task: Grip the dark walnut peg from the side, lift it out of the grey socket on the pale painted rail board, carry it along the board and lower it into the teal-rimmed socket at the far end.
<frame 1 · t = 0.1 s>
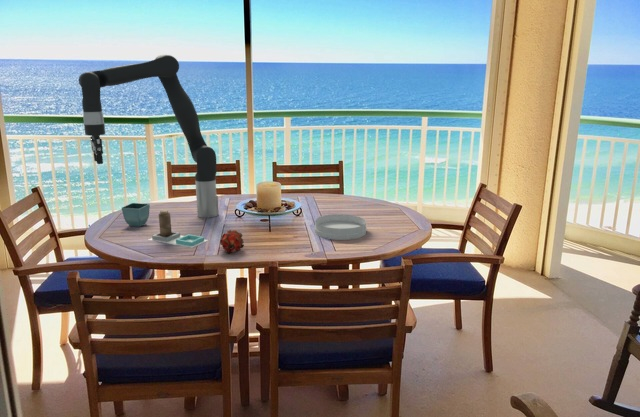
hand: (98, 162, 203), 29 cm above the table, tool pointing down, fingers open, 8 cm apart
dragon fruit: (232, 251, 185), on the table
dish: (340, 232, 210), on the table
peg: (166, 237, 196), point 1 cm above the table, touching rail board
rail board: (178, 242, 194), on the table
flower pot: (137, 225, 217), on the table
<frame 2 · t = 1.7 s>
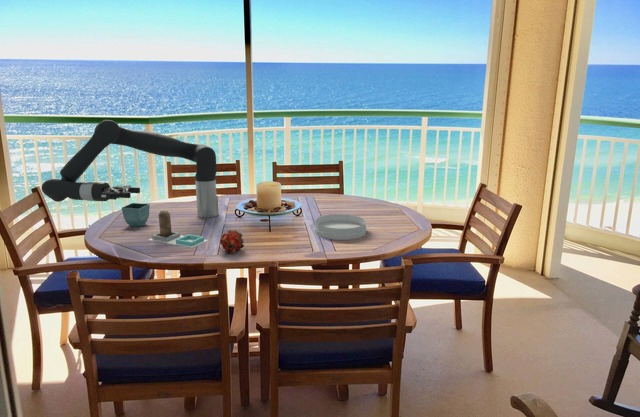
hand: (135, 192, 192), 20 cm above the table, tool horizontal, fingers open, 8 cm apart
nothing on the table moved.
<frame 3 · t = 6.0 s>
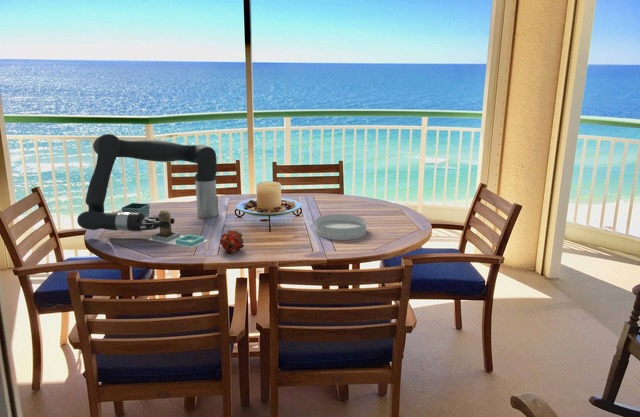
hand: (171, 222, 195), 8 cm above the table, tool horizontal, fingers closed on peg, 4 cm apart
peg: (166, 237, 196), point 1 cm above the table, touching gripper, rail board
everything else where it was.
when the fingers open (8 cm above the table, at t = 10.3 s): peg stays where it is, resting on rail board.
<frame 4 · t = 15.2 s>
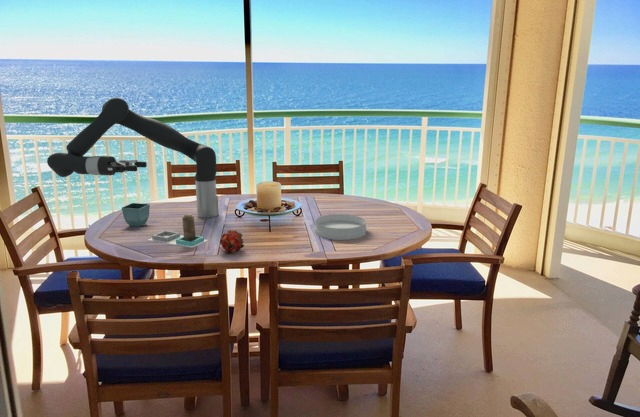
hand: (141, 166, 190), 30 cm above the table, tool horizontal, fingers open, 8 cm apart
peg: (190, 241, 191), point 1 cm above the table, touching rail board
everything else where it was.
at the end: peg 0.1 cm from the target spot, point 1.2 cm above the table; peg tilted 1°; the gripper is holding nothing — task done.
